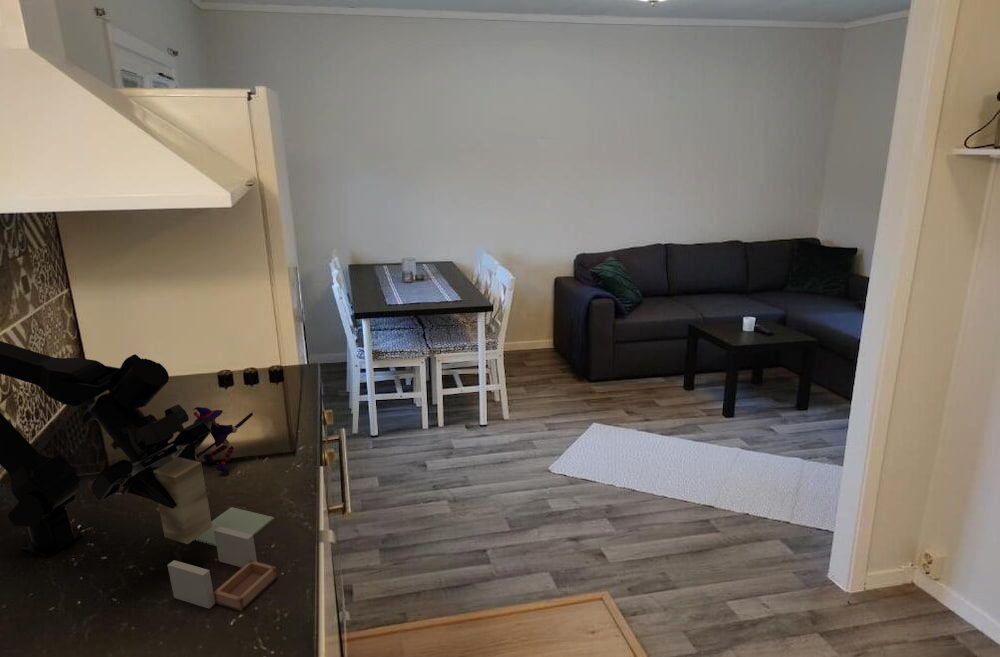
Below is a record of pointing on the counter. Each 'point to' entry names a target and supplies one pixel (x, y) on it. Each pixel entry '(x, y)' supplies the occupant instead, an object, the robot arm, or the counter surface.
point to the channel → (197, 581)
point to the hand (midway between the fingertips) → (188, 498)
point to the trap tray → (245, 585)
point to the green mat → (236, 524)
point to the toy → (217, 435)
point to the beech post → (184, 500)
